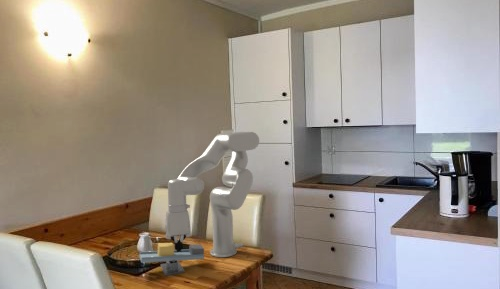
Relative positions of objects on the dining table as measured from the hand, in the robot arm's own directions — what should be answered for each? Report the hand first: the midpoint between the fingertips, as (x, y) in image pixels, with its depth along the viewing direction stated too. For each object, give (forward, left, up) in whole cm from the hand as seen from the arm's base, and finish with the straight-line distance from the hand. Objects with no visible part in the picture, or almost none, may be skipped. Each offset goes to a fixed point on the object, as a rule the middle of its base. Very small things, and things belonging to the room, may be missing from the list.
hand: (178, 250), depth 165 cm
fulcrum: (+3, 0, -8) cm, 8 cm away
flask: (+11, -19, -8) cm, 23 cm away
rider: (+6, 0, -1) cm, 6 cm away
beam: (+3, 0, -3) cm, 4 cm away
